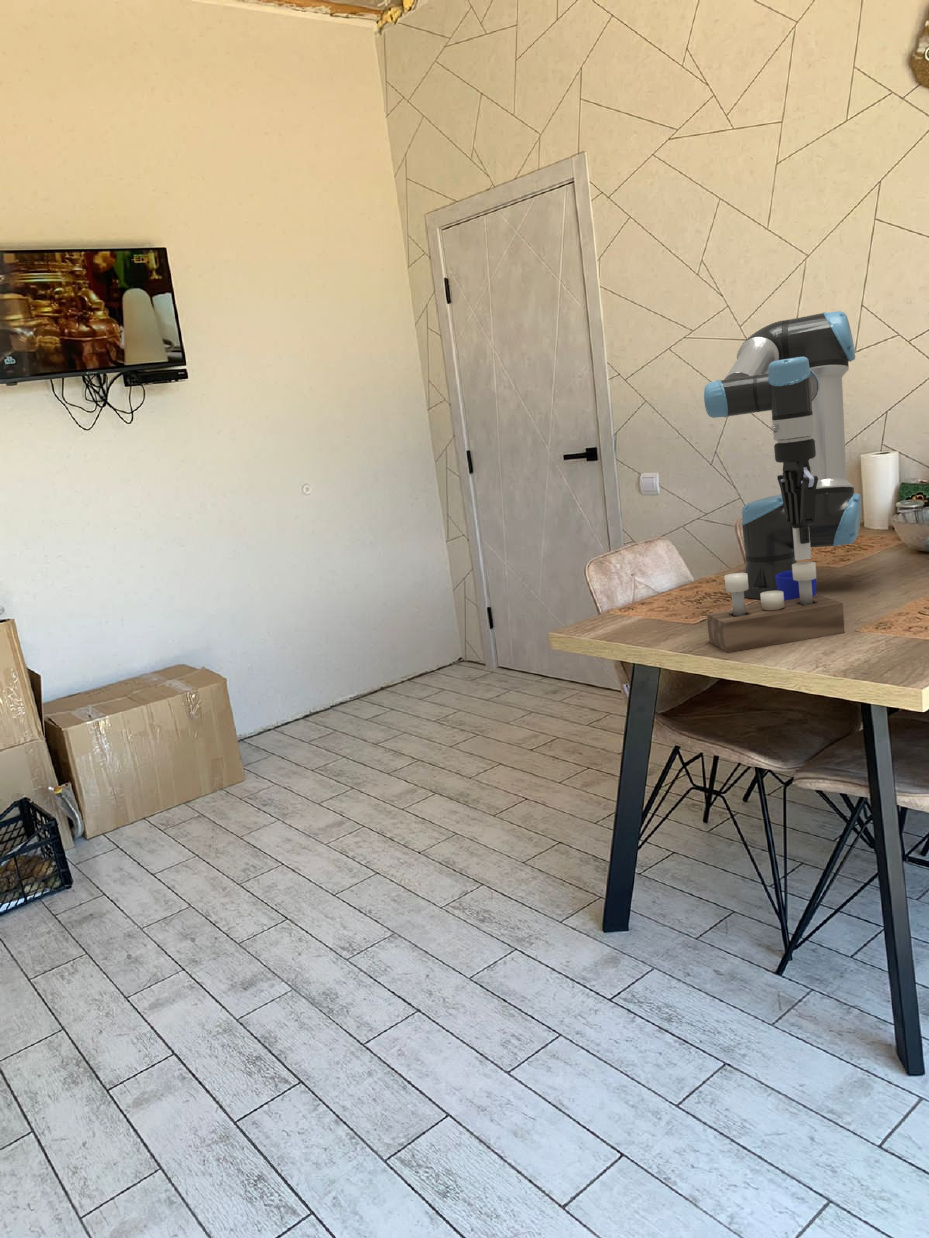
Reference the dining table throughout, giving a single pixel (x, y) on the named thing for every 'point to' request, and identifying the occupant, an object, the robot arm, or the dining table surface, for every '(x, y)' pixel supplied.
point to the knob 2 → (772, 600)
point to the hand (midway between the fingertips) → (803, 559)
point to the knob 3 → (804, 580)
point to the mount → (775, 624)
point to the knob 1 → (737, 591)
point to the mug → (791, 585)
